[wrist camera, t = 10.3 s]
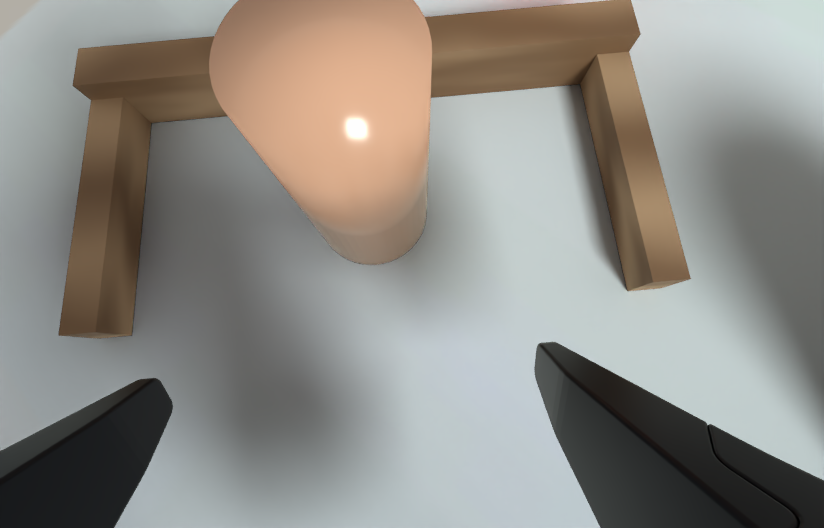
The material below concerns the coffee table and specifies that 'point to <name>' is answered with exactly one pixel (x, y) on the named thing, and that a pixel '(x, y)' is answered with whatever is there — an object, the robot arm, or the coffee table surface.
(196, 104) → the bay
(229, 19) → the tan cylinder
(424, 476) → the coffee table surface
